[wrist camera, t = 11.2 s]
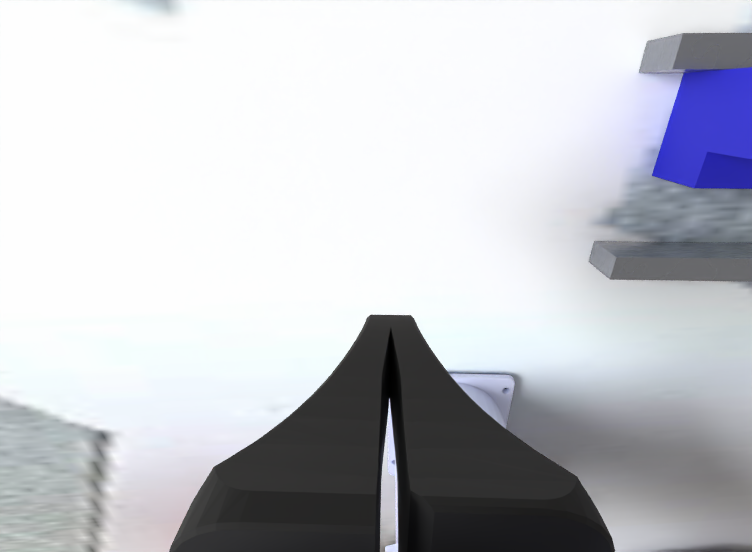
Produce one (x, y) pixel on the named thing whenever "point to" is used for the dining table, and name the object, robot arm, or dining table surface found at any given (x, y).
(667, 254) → the rail bracket
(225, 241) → the dining table surface
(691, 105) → the blue stepped block
